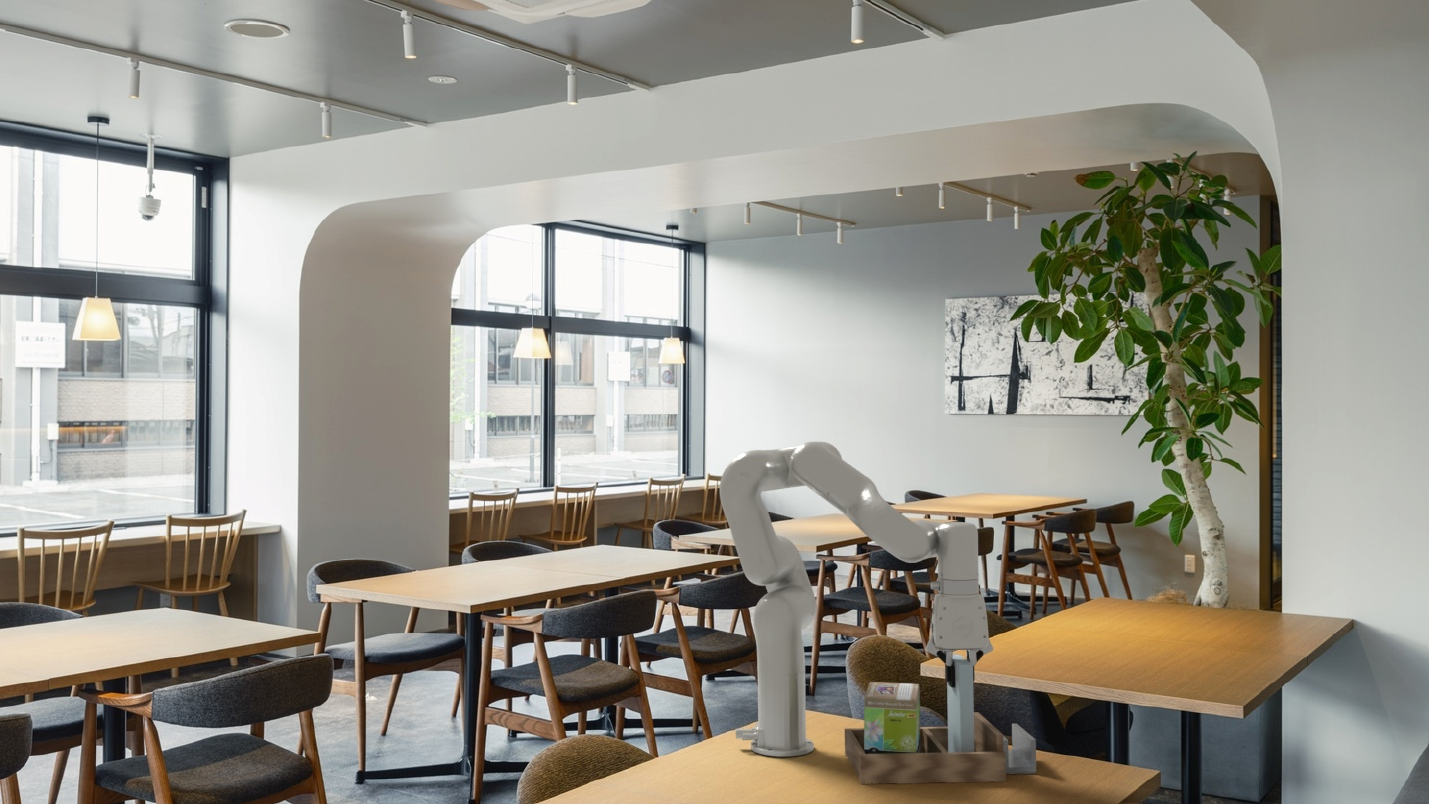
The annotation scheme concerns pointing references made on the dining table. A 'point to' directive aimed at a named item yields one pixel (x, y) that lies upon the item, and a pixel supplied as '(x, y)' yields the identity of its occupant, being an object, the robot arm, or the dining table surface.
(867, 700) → the tea box
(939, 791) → the dining table surface
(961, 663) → the rectangular block
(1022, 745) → the stand
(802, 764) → the dining table surface
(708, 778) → the dining table surface
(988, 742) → the divided tray
